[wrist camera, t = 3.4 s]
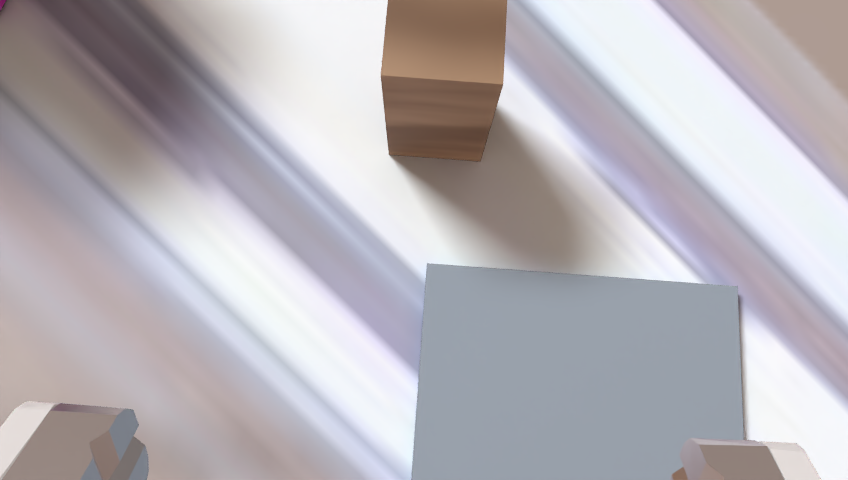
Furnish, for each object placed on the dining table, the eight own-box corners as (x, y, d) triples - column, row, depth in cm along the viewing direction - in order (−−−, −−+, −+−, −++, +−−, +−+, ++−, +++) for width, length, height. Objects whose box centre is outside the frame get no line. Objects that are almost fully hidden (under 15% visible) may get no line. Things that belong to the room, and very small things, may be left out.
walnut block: (480, 161, 35) (502, 84, 26) (388, 154, 35) (380, 75, 26) (484, 89, 36) (507, -9, 27) (395, 82, 36) (389, -18, 27)
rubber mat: (745, 627, 30) (751, 632, 29) (402, 602, 30) (402, 606, 29) (731, 288, 33) (737, 286, 33) (427, 265, 33) (427, 263, 33)
